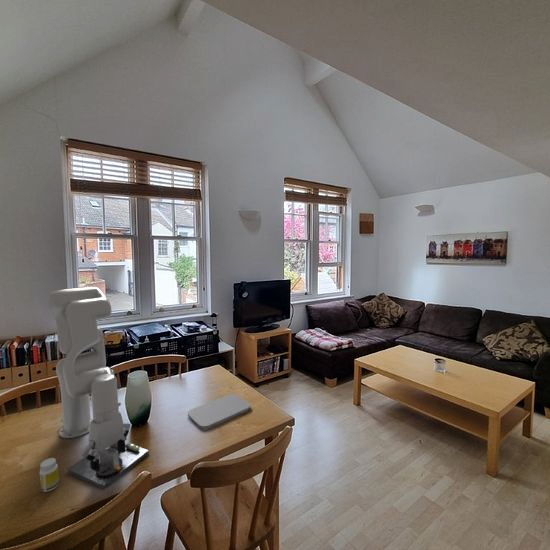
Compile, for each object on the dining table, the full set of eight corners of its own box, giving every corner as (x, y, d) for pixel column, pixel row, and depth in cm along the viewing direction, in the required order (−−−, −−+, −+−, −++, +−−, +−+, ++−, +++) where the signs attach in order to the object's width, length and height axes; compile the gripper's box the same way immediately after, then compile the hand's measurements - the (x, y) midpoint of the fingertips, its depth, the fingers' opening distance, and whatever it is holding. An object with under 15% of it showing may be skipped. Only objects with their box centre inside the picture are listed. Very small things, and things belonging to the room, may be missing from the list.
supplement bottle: (62, 480, 100) (60, 456, 99) (52, 492, 95) (50, 467, 94) (47, 480, 100) (45, 457, 99) (37, 492, 95) (34, 467, 94)
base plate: (67, 472, 103) (66, 463, 103) (114, 441, 119) (114, 433, 119) (103, 490, 96) (102, 480, 95) (148, 454, 112) (148, 445, 112)
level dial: (90, 472, 101) (89, 453, 100) (112, 456, 108) (110, 438, 108) (108, 480, 97) (107, 460, 97) (129, 464, 105) (128, 445, 104)
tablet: (185, 416, 137) (185, 411, 137) (233, 397, 154) (233, 392, 154) (202, 433, 125) (202, 428, 125) (253, 410, 142) (253, 405, 142)
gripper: (120, 398, 110) (123, 442, 112) (72, 423, 95) (76, 474, 96) (135, 402, 107) (138, 447, 109) (88, 429, 92) (92, 482, 93)
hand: (109, 460), depth 103 cm, fingers open, 9 cm apart
